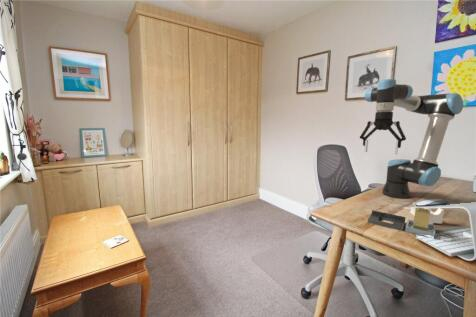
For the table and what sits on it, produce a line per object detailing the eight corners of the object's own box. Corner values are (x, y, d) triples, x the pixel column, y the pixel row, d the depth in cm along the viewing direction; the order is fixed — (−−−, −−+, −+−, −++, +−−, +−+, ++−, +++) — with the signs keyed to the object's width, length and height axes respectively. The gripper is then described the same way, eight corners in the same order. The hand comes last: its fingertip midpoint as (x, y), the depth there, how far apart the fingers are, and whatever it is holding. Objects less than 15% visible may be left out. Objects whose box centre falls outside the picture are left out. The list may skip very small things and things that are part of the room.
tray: (407, 223, 111) (407, 219, 111) (434, 229, 105) (435, 225, 104) (405, 231, 104) (405, 227, 103) (434, 238, 97) (435, 233, 97)
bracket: (441, 225, 110) (444, 210, 108) (424, 224, 111) (426, 209, 110) (425, 214, 122) (427, 200, 121) (410, 213, 123) (412, 199, 122)
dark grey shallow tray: (371, 215, 121) (372, 210, 120) (404, 223, 112) (405, 217, 111) (367, 222, 113) (368, 216, 113) (402, 230, 104) (403, 224, 104)
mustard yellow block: (413, 226, 108) (416, 206, 106) (427, 229, 104) (430, 209, 103) (412, 230, 104) (415, 209, 102) (427, 233, 101) (430, 212, 99)
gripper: (355, 112, 123) (352, 151, 126) (414, 110, 107) (409, 156, 110) (359, 112, 128) (356, 150, 132) (415, 110, 112) (410, 154, 116)
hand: (380, 153), depth 121 cm, fingers open, 13 cm apart
